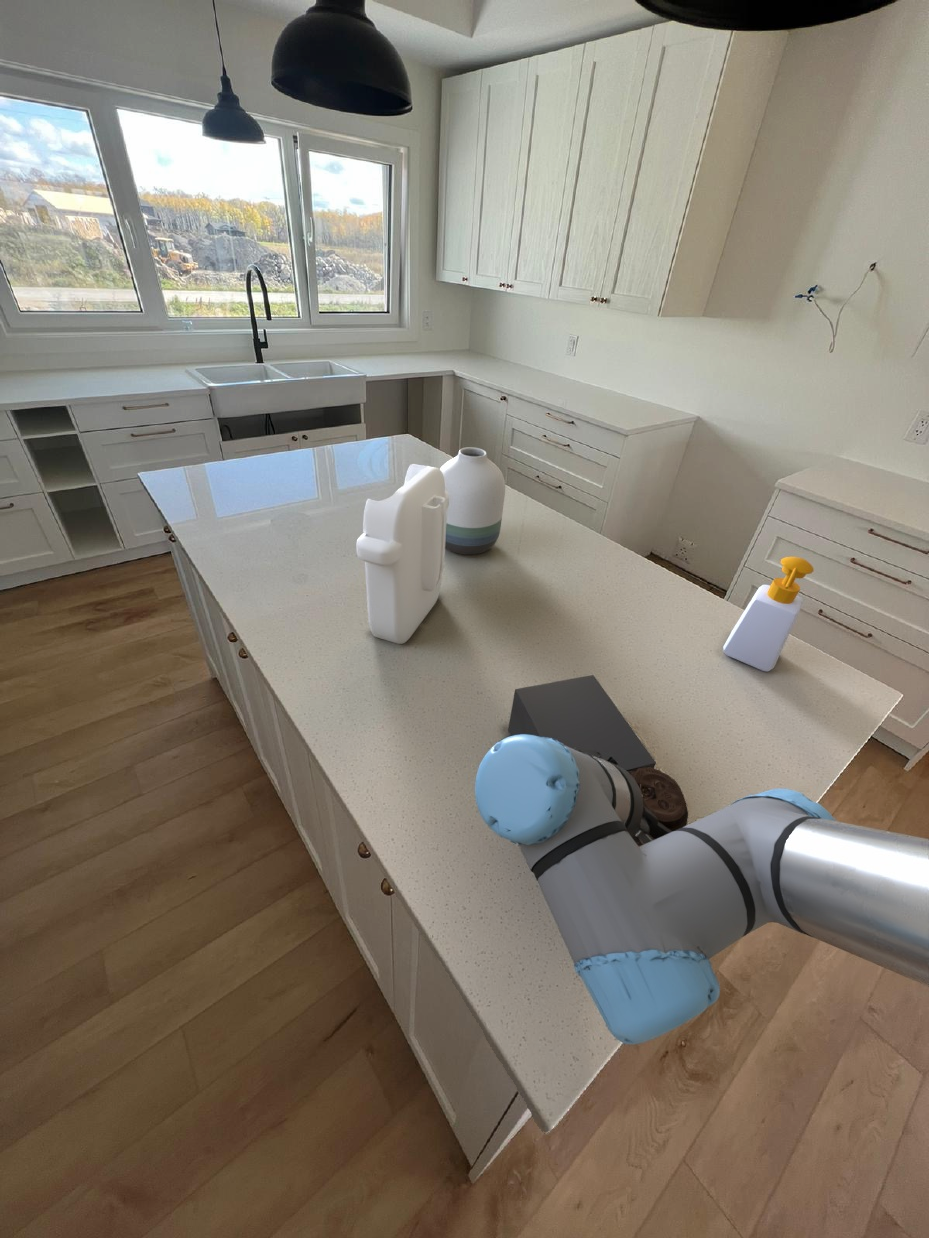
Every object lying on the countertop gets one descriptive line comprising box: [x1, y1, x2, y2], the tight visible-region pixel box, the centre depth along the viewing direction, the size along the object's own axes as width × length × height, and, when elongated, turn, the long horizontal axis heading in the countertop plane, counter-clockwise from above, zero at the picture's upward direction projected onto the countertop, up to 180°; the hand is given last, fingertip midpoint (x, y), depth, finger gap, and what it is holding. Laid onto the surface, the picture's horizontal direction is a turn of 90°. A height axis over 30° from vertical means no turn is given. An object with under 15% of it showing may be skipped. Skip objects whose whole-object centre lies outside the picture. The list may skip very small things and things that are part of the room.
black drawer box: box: [507, 674, 657, 772], centre depth 77 cm, size 18×14×10 cm
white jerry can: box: [355, 463, 449, 645], centre depth 98 cm, size 27×11×30 cm, turn 160°
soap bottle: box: [722, 556, 815, 672], centre depth 97 cm, size 10×14×22 cm
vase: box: [439, 446, 506, 555], centre depth 125 cm, size 17×17×24 cm
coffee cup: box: [628, 767, 689, 847], centre depth 63 cm, size 9×8×13 cm
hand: (656, 812), depth 65 cm, fingers open, 9 cm apart
